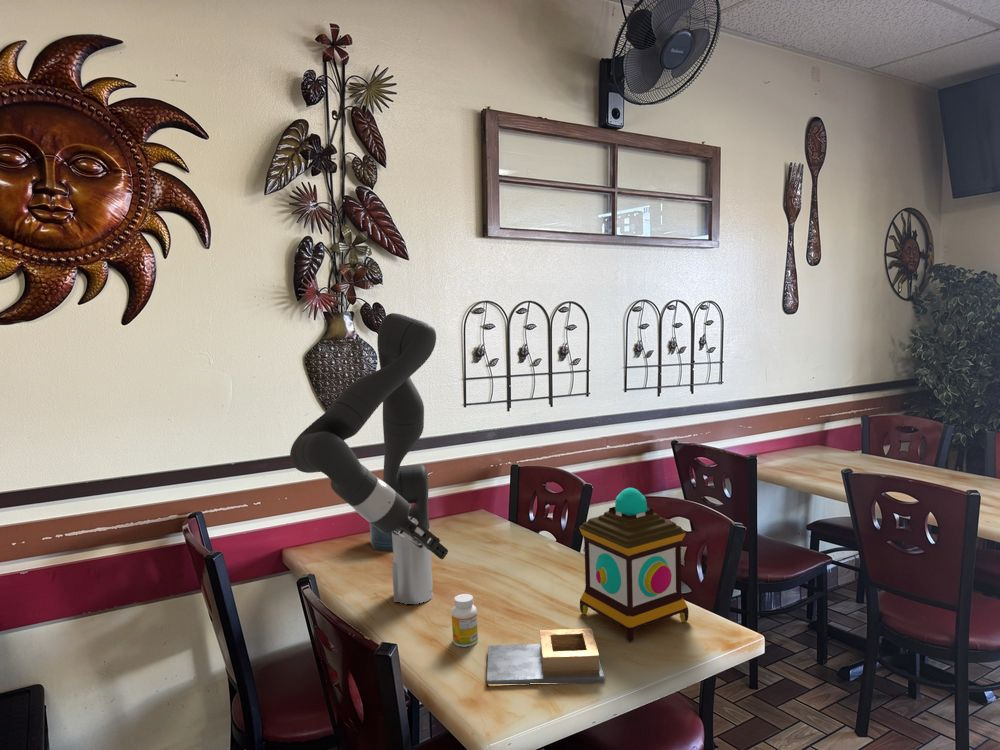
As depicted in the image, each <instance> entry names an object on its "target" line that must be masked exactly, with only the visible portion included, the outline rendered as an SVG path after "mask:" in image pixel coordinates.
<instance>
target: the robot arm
mask: <svg viewBox="0 0 1000 750" xmlns="http://www.w3.org/2000/svg"><path fill="white" fill-rule="evenodd" d="M376 340H377V341H376V343H377V344H376V345H377V354H378V361H379V367H380V369H377V370H375V371H373V372H371V373H369V374H366V375H365V376H362V377H360V378H358V379H356V380H354V381H353V382H352V383H350V384H349V385H348V386H347V387H345V388H344V390H343V391H342V392H341V393H340V394H339V395H338V397H337V398H336V399H335V400H334V402H332V404H331V405H330V406H329V408H328V409H327V410H326V411H325V412H324V413H323V414H322V415H321V416H319V417H318V418H317V419H315V421H313V422H312V423H311V424H310V425H309V426H307V427H306V428H305V429H304V430H303V431H302V432H301V433H299V435H298V436H297V437H296V438H295V440H294V441H293V443H292V445H291V447H290V451H289V452H290V453H289V457H290V461H291V464H292V466H293V467H294V469H296V470H298V471H299V472H301V473H305V474H310V473H311V474H312V473H322V474H324V475H325V476H326V477H328V478H329V479H330V487H331V490H332V491H333V492H334V493H335V494H336V495H337V496H338V497H339V498H341V500H343V501H344V502H346V503H347V505H349V506H351V508H353V509H354V511H355V512H357V513H358V515H360V516H361V517H362V518H364V520H366V521H367V522H368V523H369V524H370V523H371V524H372V525H373V526H374V527H376V528H377V529H378V530H379V531H381V532H382V533H385V534H388V533H391V532H392V542H393V550H392V554H393V555H392V556H393V559H392V560H393V562H392V564H391V570H392V571H391V573H392V587H393V588H392V590H393V603H394V602H401V603H400V604H402V603H404V604H403V605H407V604H414V605H420V604H423V602H424V603H426V602H428V601H430V600H432V598H433V597H434V593H433V591H434V590H433V589H434V586H433V572H432V570H433V568H432V554H434V556H436V557H437V558H438V559H440V560H444V559H445V557H446V556H447V555H448V553H449V549H448V548H447V547H445V546H444V545H443V544H442V543H441V539H440V538H439V537H437V536H436V535H435V534H434V533H432V532H431V530H430V514H429V513H430V512H429V511H430V510H429V475H428V471H427V468H426V466H425V465H424V464H411V465H410V464H407V465H401V463H402V461H403V460H404V458H405V457H406V456H407V454H408V453H409V452H410V450H411V449H413V447H414V446H415V445H416V444H417V443H418V441H419V439H420V438H421V436H422V434H423V432H424V429H425V428H424V427H425V425H424V424H425V405H424V401H423V399H422V396H421V395H420V393H419V391H418V389H417V387H416V386H415V383H414V382H413V381H412V379H411V376H413V375H414V374H415V373H416V372H417V371H418V370H419V369H420V368H421V367H422V366H423V365H424V364H425V363H426V362H427V361H428V359H429V358H431V357H430V356H431V355H432V353H433V352H434V349H435V347H436V343H437V331H436V329H435V327H434V326H433V325H432V324H429V323H428V322H425V321H423V320H419V319H417V318H413V317H410V316H407V315H405V314H401V313H396V312H395V313H392V312H391V313H388V314H387V315H385V316H384V317H383V319H382V321H380V325H379V328H378V331H377V339H376ZM381 404H382V428H383V429H382V430H383V431H382V432H383V444H384V445H383V446H384V447H383V449H384V453H383V454H384V455H383V457H384V459H383V474H382V475H383V477H382V479H381V478H379V477H378V476H376V475H375V474H374V473H373V472H371V470H369V469H368V468H367V467H366V466H364V465H363V464H362V463H361V462H360V461H359V459H358V457H357V455H356V454H355V452H354V451H353V450H352V448H351V447H350V446H349V444H347V442H346V441H345V440H348V439H350V438H352V437H354V436H356V434H358V433H359V432H360V430H361V429H362V428H363V427H364V425H365V424H366V423H367V421H368V420H369V419H370V418H371V416H372V415H373V414H374V413H375V411H376V410H377V409H378V407H380V406H381ZM409 503H411V504H413V506H411V507H410V509H409ZM419 603H420V604H419Z"/></svg>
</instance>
